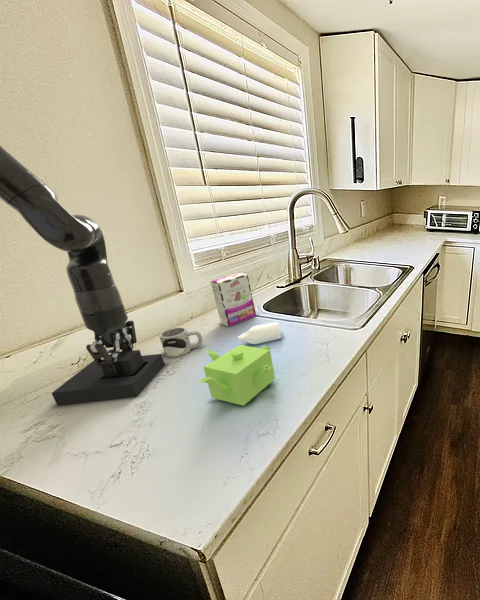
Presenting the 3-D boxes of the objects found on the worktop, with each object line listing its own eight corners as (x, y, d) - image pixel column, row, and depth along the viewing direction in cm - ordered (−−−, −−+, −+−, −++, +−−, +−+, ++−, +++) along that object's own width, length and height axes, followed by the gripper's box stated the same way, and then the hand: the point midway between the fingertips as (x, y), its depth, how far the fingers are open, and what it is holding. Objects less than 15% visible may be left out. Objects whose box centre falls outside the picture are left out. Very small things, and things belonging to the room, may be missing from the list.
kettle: (209, 422, 69) (197, 377, 65) (209, 386, 80) (199, 347, 76) (283, 399, 75) (275, 357, 71) (273, 370, 87) (266, 332, 83)
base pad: (58, 407, 74) (51, 393, 72) (98, 373, 86) (93, 360, 85) (137, 398, 76) (132, 384, 75) (165, 366, 89) (161, 353, 88)
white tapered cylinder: (238, 343, 101) (234, 327, 99) (278, 334, 107) (275, 318, 105) (240, 351, 96) (236, 334, 94) (282, 341, 102) (279, 325, 100)
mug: (163, 360, 92) (156, 339, 90) (167, 349, 98) (161, 329, 95) (203, 352, 96) (198, 332, 94) (205, 342, 102) (200, 323, 99)
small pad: (105, 377, 78) (99, 362, 76) (117, 366, 82) (112, 352, 81) (133, 374, 79) (128, 360, 77) (144, 363, 83) (139, 349, 82)
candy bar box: (248, 313, 123) (239, 272, 117) (256, 316, 120) (248, 273, 114) (220, 325, 114) (209, 280, 108) (228, 328, 111) (218, 282, 105)
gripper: (103, 295, 80) (124, 356, 86) (58, 319, 67) (87, 388, 73) (137, 293, 82) (156, 353, 88) (99, 316, 68) (124, 384, 74)
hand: (124, 368), depth 80 cm, fingers closed on small pad, 5 cm apart
